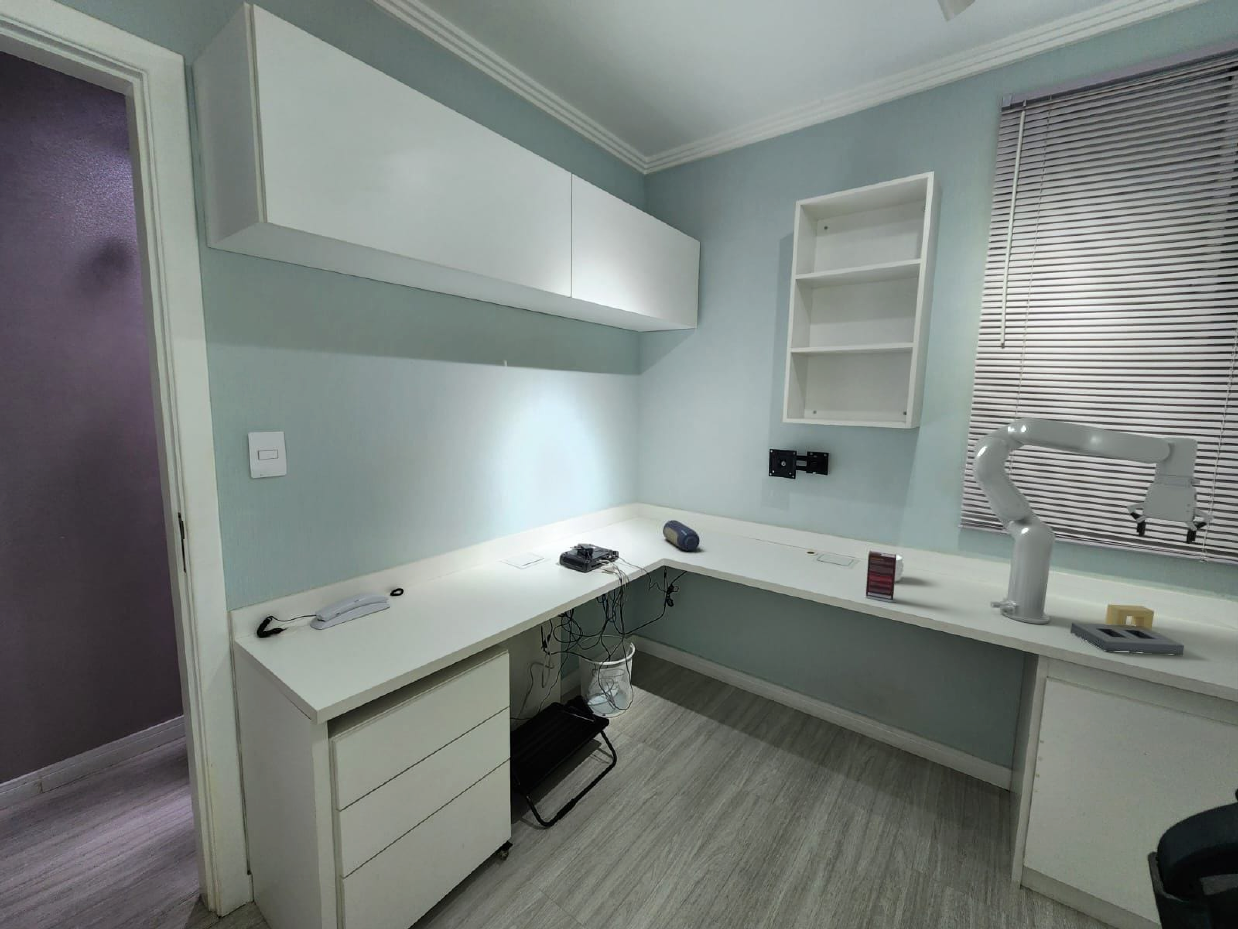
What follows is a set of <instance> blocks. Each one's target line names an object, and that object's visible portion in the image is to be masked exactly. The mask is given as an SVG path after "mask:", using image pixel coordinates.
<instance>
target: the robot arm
mask: <svg viewBox="0 0 1238 929" xmlns="http://www.w3.org/2000/svg"><path fill="white" fill-rule="evenodd" d="M1026 445H1027V446H1033V447H1038V448H1045V449H1051V450H1055V451H1057V450H1058V451H1062V452H1067V453H1068V452H1069V453H1075V454H1079V455H1080V454H1081V455H1085V456H1086V455H1087V456H1097V457H1098V456H1099V457H1104V458H1111V459H1118V460H1123V461H1128V462H1129V461H1130V462H1136V463H1141V464H1148V465H1153V464H1155V468H1154V469H1155V471H1154V477H1153V482H1152V483H1150V484H1149V486H1148V488H1147V492H1146V493H1145V497H1144V501H1143V502H1138V503H1134V504H1129V505H1127V506H1126V509H1127V511H1128V512H1129V514H1130V517H1131V518H1133V520H1135V522H1136V523H1137V524H1136V533H1137V534H1138V535H1137V536H1138V537H1143V536H1145V534H1146V528H1147V522H1146V520H1147V519H1155V520H1156V519H1157V520H1162V521H1170V522H1178V523H1184V524H1186V526H1187V527H1188V528H1189V529H1188V530H1187V532H1186V538H1185V544H1187V545H1190V544H1192V543H1193V542H1196V537H1197V531H1198V530H1200V529H1202V528H1204V527H1206V526H1208V525H1209V524H1210V523H1211V522H1212V521H1213V520H1214V519H1215V516H1214V515H1212V514H1209V513H1207V512H1205V511H1203V510H1201V509H1200V508H1197V505H1198V504H1197V503H1198V496H1197V495H1198V493H1197V487H1195V486H1193V485H1200V484H1201V479H1200V478H1199V479H1198V478H1195V476H1194V473H1195V467H1196V461H1197V453H1198V448H1199V446H1198V445H1199V444H1198V441H1197V440H1196V439H1194V438H1188V437H1164V438H1162V437H1154V436H1147V435H1141V434H1135V433H1127V432H1121V431H1115V430H1109V429H1103V428H1101V427H1100V428H1099V427H1096V426H1095V427H1094V426H1092V425H1091V426H1090V425H1085V424H1077V423H1073V422H1064V421H1057V420H1051V419H1044V418H1037V417H1021V418H1018V419H1017V420H1015V421H1012V422H1010V423H1008V424H1006V425H1004V426H1002V427H1000V428H998V429H996V430H994V431H992V432H990V433H988V434H985V435H983V436H982V437H980V438H979V439H977V440H976V441H975V443H974V446H973V452H974V455H975V456H974V458H973V461H972V464H971V465H972V466H971V468H972V470H971V471H972V477H973V478H974V481H975V483H976V484H977V486H978V487H979V488H980V490H981V491H982V493H983V495H984V496H985V497H986V499H987V500H988V501H987V502H988V506H989V508H990V509H991V511H992V512H993V514H994V515H995V516H996V518H997V519H998V521H999V522H1000V523H1001V524H1002V526H1003V527H1004V528H1005V530H1006V531H1007V532H1008V534H1010V536H1011V537H1012V538H1013V539H1014V546H1013V550H1012V554H1011V561H1010V569H1009V570H1010V572H1009V579H1008V588H1007V595H1006V596H1007V597H1006V598H1003V600H1001V601H990V605H989V606H990V608H992V609H993V608H994V609H995V608H997V609H999V612H1000V614H1002V616H1006V617H1008V618H1009V619H1013V620H1015V621H1019V622H1023V623H1028V624H1034V625H1045V624H1048V623H1050V617H1049V616H1048V615H1047V614H1046V613H1044V612H1045V606H1046V597H1047V589H1048V583H1049V575H1050V574H1049V573H1050V566H1051V562H1052V555H1053V552H1054V550H1055V549H1054V548H1055V544H1056V535H1055V531H1054V530H1053V529H1052V527H1051V526H1050V525H1049V524H1047V523H1046V522H1044V521H1043V520H1041V519H1040V518H1039V516H1037V514H1036V513H1035V512H1034V511H1033V509H1032V508H1031V505H1030V502H1029V500H1028V498H1027V497H1026V496H1025V495H1024V494H1023V492H1021V490H1020V489H1019V488H1018V486H1017V485H1016V484H1015V483H1014V482H1013V480H1012V479H1011V477H1010V476H1009V474H1008V473H1007V471H1006V468H1005V466H1006V462H1007V461H1008V459H1009V457H1010V455H1011V453H1012V452H1014V451H1016V450H1019V449H1020V448H1023V447H1024V446H1026ZM1139 508H1142V515H1140V514H1139V513H1138V512H1137V511H1136V509H1139ZM1196 515H1197V516H1199V517H1201V518H1202V519H1203V520H1202V521H1201V522H1198V523H1197V522H1195V521H1194V520H1195V519H1196V517H1197V516H1196Z"/></svg>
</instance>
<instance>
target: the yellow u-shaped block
mask: <svg viewBox="0 0 1238 929" xmlns="http://www.w3.org/2000/svg"><path fill="white" fill-rule="evenodd" d="M1154 616H1155V611H1154V610H1152V609H1150V608H1148V607H1145V606H1143V605H1129V604H1128V605H1127V604H1125V605H1124V604H1107V607H1106V614H1105V622H1104V623H1105V624H1107V623H1109V624H1110V625H1124V626H1127V618H1128V617H1131V622H1130V624H1131V623H1132V624H1134V625H1136V626H1144V627H1146V628H1148V629H1151V630H1152V629H1153V622H1154ZM1109 624H1108V625H1109ZM1132 624H1131V625H1132ZM1134 625H1133V626H1134Z"/></svg>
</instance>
